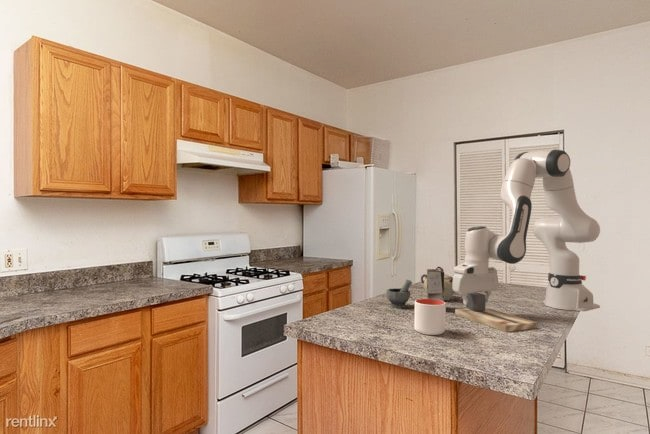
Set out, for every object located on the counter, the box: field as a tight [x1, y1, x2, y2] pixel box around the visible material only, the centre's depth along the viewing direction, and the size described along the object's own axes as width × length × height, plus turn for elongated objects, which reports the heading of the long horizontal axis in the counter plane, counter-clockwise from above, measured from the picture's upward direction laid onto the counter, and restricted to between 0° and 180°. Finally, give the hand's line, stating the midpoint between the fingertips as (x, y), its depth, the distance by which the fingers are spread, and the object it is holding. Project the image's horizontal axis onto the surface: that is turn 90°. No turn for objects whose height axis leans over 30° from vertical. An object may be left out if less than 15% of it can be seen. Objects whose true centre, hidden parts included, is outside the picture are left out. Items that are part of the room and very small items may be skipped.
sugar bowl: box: [420, 266, 456, 301], centre depth 186 cm, size 20×15×15 cm
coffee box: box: [426, 268, 445, 302], centre depth 166 cm, size 9×6×16 cm
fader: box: [465, 292, 486, 311], centre depth 156 cm, size 4×6×6 cm, turn 22°
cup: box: [414, 298, 447, 336], centre depth 133 cm, size 10×10×10 cm
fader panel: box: [454, 306, 537, 333], centre depth 148 cm, size 14×25×2 cm, turn 22°
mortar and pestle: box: [386, 279, 413, 309], centre depth 168 cm, size 11×9×12 cm
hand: (475, 303), depth 156 cm, fingers open, 8 cm apart
